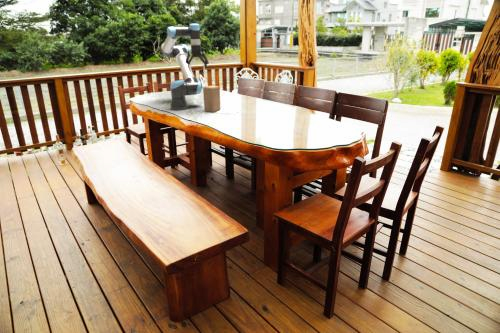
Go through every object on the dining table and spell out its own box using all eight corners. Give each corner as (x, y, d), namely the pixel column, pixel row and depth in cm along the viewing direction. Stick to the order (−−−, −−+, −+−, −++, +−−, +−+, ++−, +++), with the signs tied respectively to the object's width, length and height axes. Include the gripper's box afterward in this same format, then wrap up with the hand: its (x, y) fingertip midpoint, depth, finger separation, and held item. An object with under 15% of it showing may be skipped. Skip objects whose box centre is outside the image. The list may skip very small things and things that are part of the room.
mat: (215, 112, 266) (215, 112, 266) (222, 109, 278) (222, 108, 278) (234, 113, 261) (234, 113, 261) (240, 110, 273) (240, 109, 273)
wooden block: (212, 112, 267) (211, 87, 260) (204, 111, 273) (202, 86, 265) (220, 110, 275) (219, 86, 267) (212, 109, 280) (211, 85, 273)
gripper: (179, 45, 258) (181, 72, 266) (208, 45, 251) (209, 73, 259) (183, 44, 265) (186, 71, 273) (212, 44, 258) (213, 72, 266)
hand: (197, 72), depth 266 cm, fingers open, 12 cm apart
